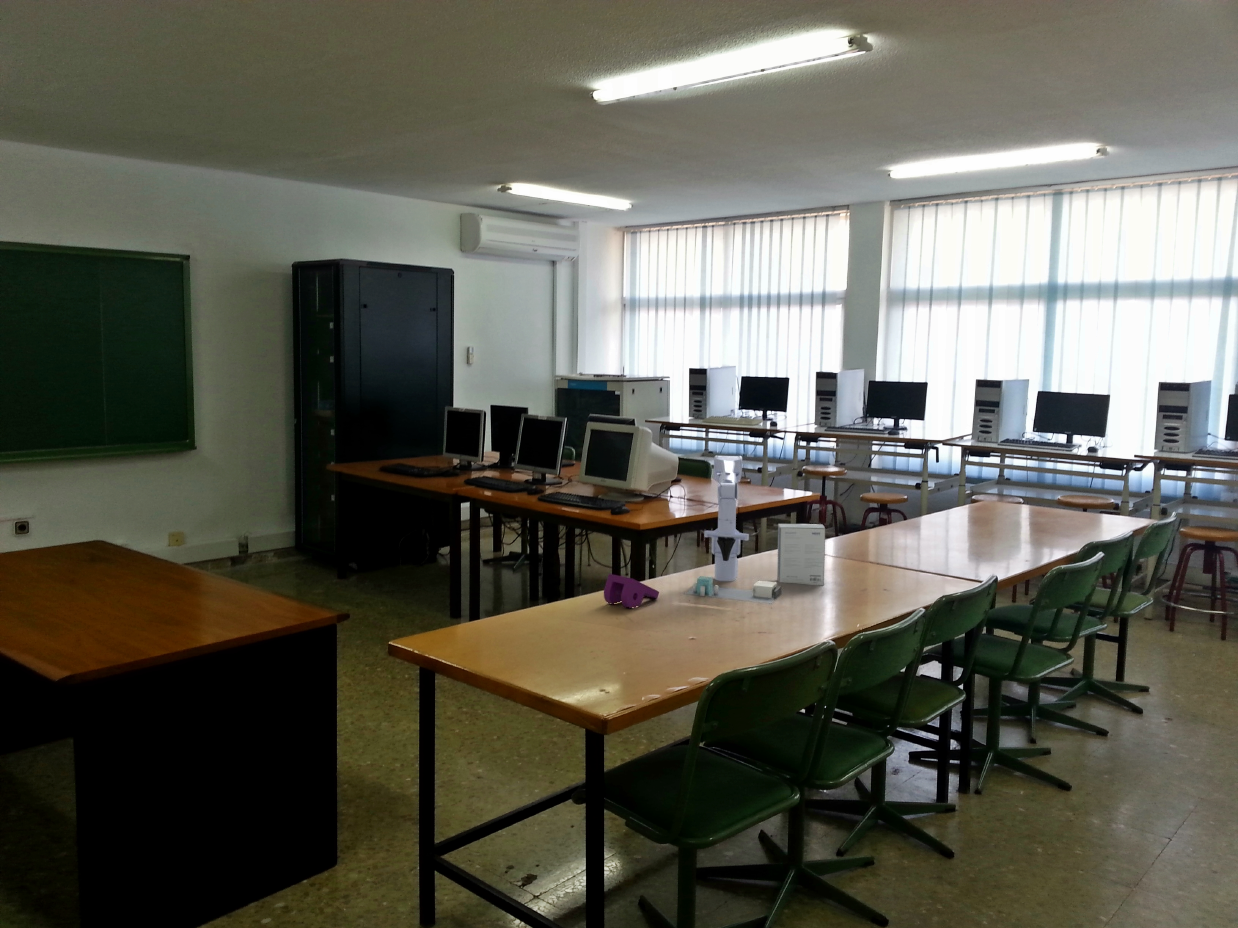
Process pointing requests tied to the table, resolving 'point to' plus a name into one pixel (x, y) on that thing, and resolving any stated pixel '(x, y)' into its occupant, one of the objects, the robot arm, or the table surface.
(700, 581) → the teal block
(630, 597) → the mounting bracket
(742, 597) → the base plate
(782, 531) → the hard drive box
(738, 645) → the table surface
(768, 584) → the block
